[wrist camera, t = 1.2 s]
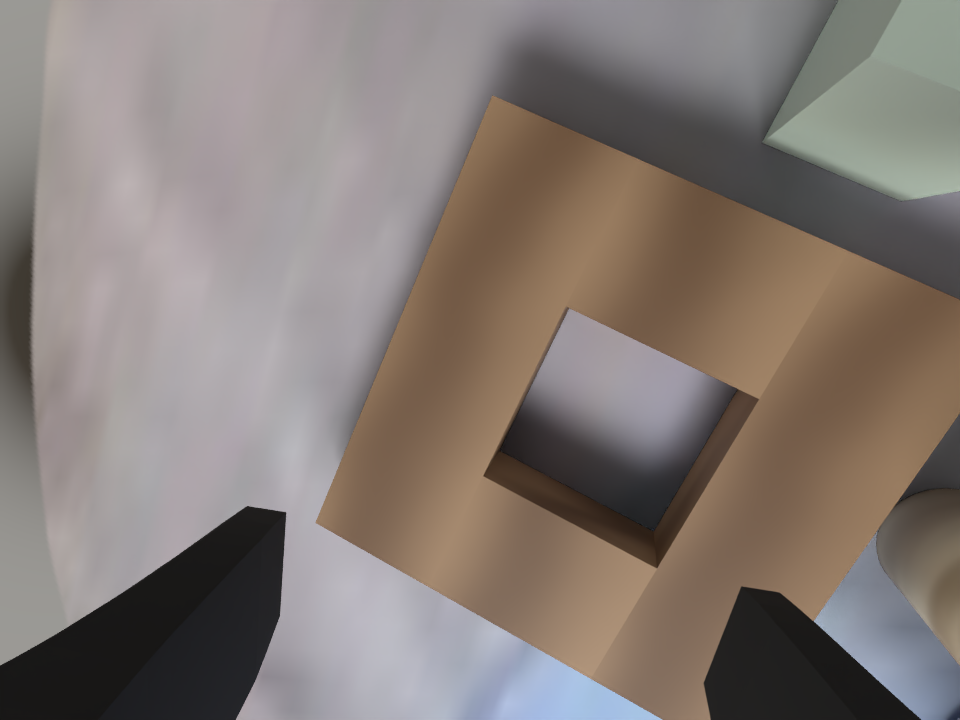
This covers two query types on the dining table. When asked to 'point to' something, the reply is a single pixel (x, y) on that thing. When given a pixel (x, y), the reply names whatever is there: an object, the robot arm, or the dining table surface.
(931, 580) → the birch dowel
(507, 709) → the dining table surface
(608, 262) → the socket block
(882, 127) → the square peg
